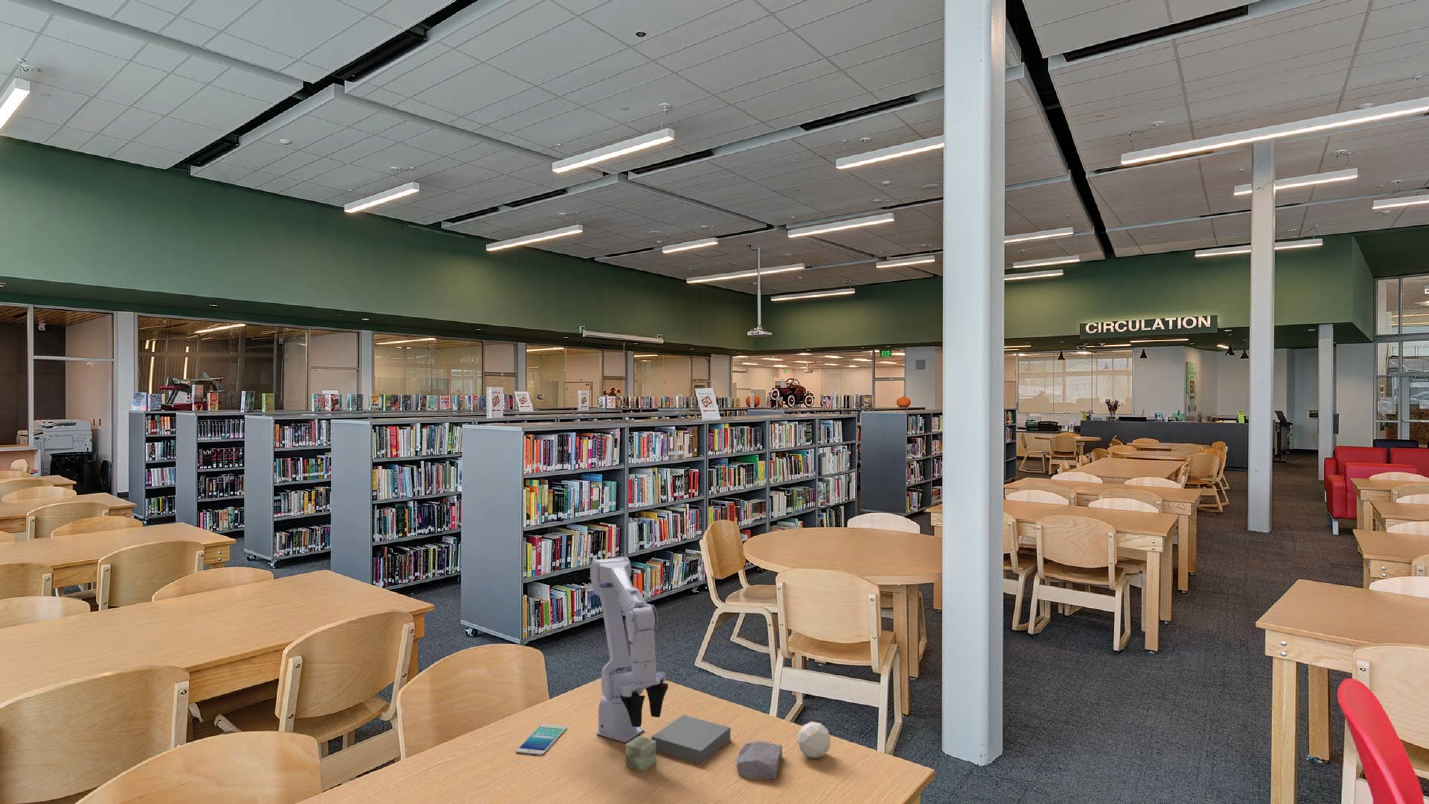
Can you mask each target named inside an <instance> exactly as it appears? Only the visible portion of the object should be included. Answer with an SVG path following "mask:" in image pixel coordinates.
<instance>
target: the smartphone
mask: <svg viewBox="0 0 1429 804" xmlns="http://www.w3.org/2000/svg"><path fill="white" fill-rule="evenodd" d="M566 730H568V726H565V725H556V724H555V725H554V724H545V723H542V724H540V725H539V726H537V727H536V729H535V730H534V731H532V733H531V734H530V735H529V736H528V737H527V738H526V739H525V740H524V741H523V742H522V743H521V744H520V745H518V746H517V748H515V752H516V753H515V754H517V753H518V755H519V754H520V755H526V754H531V755H530V756H536V755H543V756H545V755H546V753H547V752H548V751H549V750H550V749H551V748H552V747H553V745H554V744H555V743H556V742H557V741H558V740H559V738H561V736H562V735H563V734H564V733H565V732H566ZM564 731H565V732H564ZM563 732H564V733H563ZM561 734H562V735H561ZM558 737H559V738H558ZM556 740H557V741H556ZM555 741H556V742H555ZM554 742H555V743H554ZM553 743H554V744H553ZM552 744H553V745H552ZM551 746H552V747H551ZM550 747H551V748H550ZM549 748H550V749H549ZM548 749H549V750H548ZM546 751H547V752H546ZM545 752H546V753H545Z"/></svg>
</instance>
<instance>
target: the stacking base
mask: <svg viewBox="0 0 1429 804" xmlns="http://www.w3.org/2000/svg"><path fill="white" fill-rule="evenodd" d="M650 738H651V740H655V741H656V752H659V753H663V754H667V755H669V756H673V757H677V758H680V759H683V760H686V761H689V762H692V763H697V764H700V765H702V764H703V763H704V762H706V760H708V759H709V758H711V756H712V755H714V754H715V753H716V752H717V751H719V749H721V748H722V747H724V746H725V745H726V744H727V743H728V742H729V741H730V740H731V727H730V726H727V725H723V724H719V723H714V722H710V721H707V720H704V719H700V718H696V717H693V716H689V715H686V714H682V715H681V716H679V717H678V718H676V719H675V720H673V721H672V722H671V723H669V724H667V725H666V726H665V727H663V728H662V729H661V730H659V731H658V732H655V734H653V735H651V737H650Z"/></svg>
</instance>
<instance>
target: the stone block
mask: <svg viewBox="0 0 1429 804" xmlns="http://www.w3.org/2000/svg"><path fill="white" fill-rule="evenodd" d="M782 757H783V745H782V744H781V743H779V744H776V743H773V742H768V741H761V740H757V741H754V742H752V741H751V742H749V743H748V742H747V743H746V744H744V745H743V746H742V748H741V749H740V751H739V752H738V755H737V757H736V770H737V773H738V774H739V776H740V777H742V778H746V779H756V780H757V779H758V780H759V779H760V780H770V781H774V780H777V777H778V773H779V769H780V766H781V761H782Z"/></svg>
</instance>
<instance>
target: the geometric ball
mask: <svg viewBox="0 0 1429 804" xmlns="http://www.w3.org/2000/svg"><path fill="white" fill-rule="evenodd" d="M831 742H832V741H831V735H830V733H829V730H828V728H826V726H824V725H823V724H822V723H821V722H816V721H810V722H808V723H806V724H803V725H802V727H801V728H800V729H799V731H798V733H797V743H798V747H799V750H800V751H801V752H802V753H803V755H805V756H806V757H807V758H811V759H815V760H816V759H819V758H821V757H823V756H825V755H826V754H827V753H828V751H829V750H830V748H831Z"/></svg>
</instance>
